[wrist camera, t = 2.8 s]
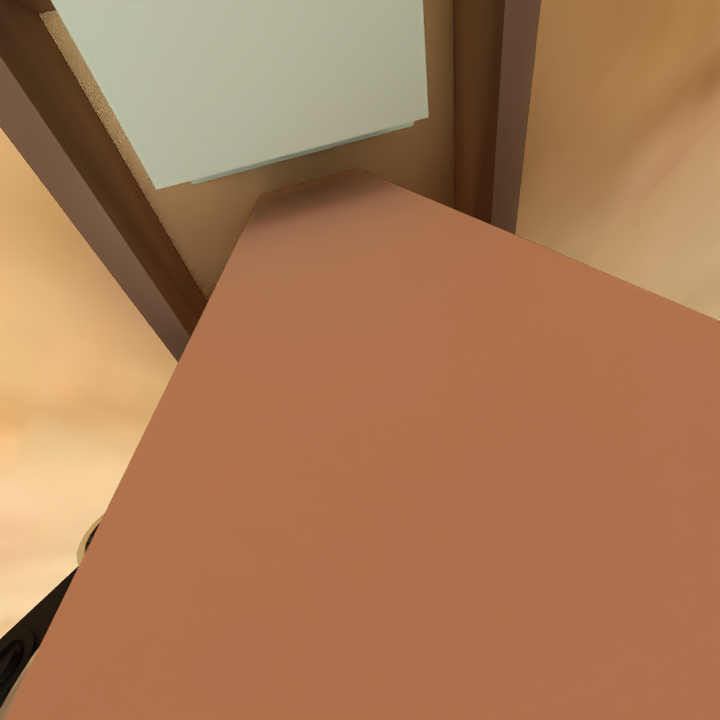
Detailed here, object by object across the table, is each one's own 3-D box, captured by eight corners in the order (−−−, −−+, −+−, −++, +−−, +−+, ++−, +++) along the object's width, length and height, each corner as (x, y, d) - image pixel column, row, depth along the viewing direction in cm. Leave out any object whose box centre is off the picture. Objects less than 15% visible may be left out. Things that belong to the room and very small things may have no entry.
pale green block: (368, -38, 9) (459, -241, 4) (387, 128, 11) (459, 121, 7) (144, 18, 9) (-29, -127, 4) (212, 174, 11) (157, 201, 6)
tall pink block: (358, 168, 12) (1334, 577, 1) (392, 361, 18) (560, 715, 7) (260, 195, 12) (-172, 1084, 1) (328, 379, 18) (394, 770, 7)
